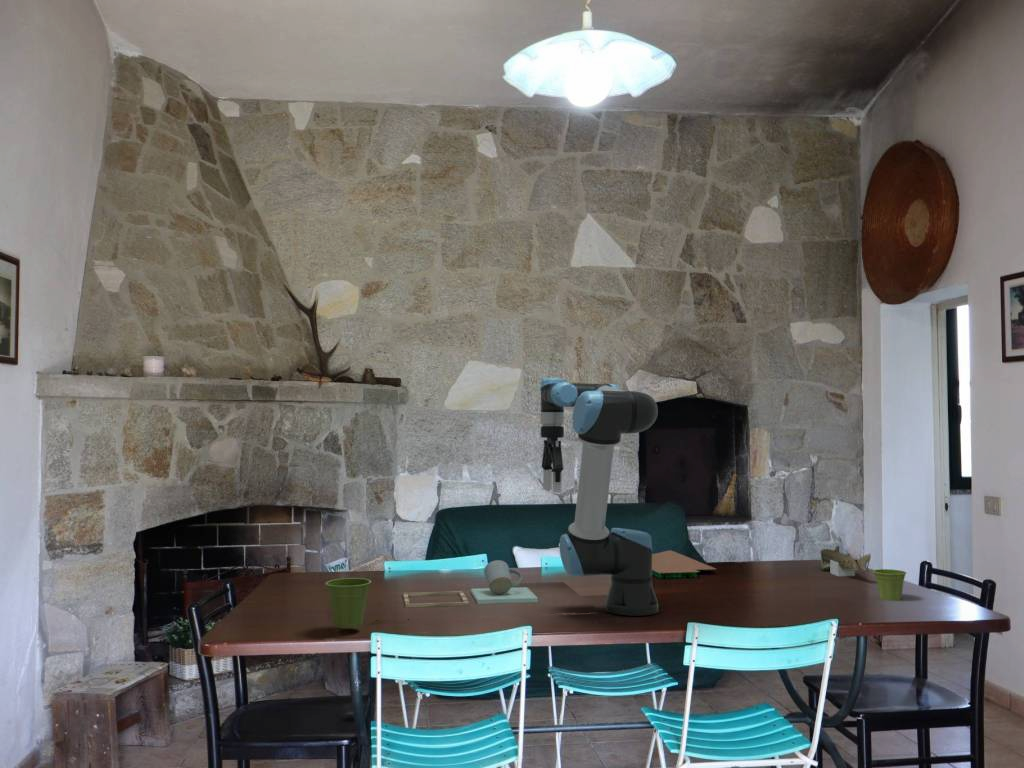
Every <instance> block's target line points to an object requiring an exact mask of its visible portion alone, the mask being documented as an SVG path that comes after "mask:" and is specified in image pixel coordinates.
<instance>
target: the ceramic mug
mask: <svg viewBox="0 0 1024 768" xmlns="http://www.w3.org/2000/svg"><path fill="white" fill-rule="evenodd" d="M483 574H484V576H485V580H486V582H487V586H488V588H489V589H490V591H491V592H492V593H494V594H504V593H506V592H508V591H509V590H510V588H512V587H513V586H514V587H515V586H519V585H520V584H521V583H522V580H523V574H522V572H520V571H519V570H518V569H515V568H514V569H513V568H510V567H509V565H508V563H507V562H505V561H504V560H498V559H496V560H492V561H490V562H488V563H487V564H486V565H485V567H484V570H483ZM511 574H514V575H517V576H518V578H519V579H518V580H517V581H512V575H511Z"/></svg>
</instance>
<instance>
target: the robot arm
mask: <svg viewBox="0 0 1024 768" xmlns="http://www.w3.org/2000/svg"><path fill="white" fill-rule="evenodd" d="M540 383H541V384H540V425H542V426H541V427H540V437H541V438H542V439H543V438H546V439H544V440H543V452H542V461H541V468H542V470H543V471H542V472H543V475H542V477H543V478H542V481H543V482H542V484H543V485H542V488H543V489H542V490H543V491H545V490H546V491H549V490H552V493H553V494H555V493H557V494H558V493H562V471H564V461H563V453H562V442H561V441H562V440H559V438H561V439H562V438H564V437H565V428H564V426H563V425H564V419H566V415H565V412H564V410H565V409H564V408H573V410H572V428H573V430H574V432H575V433H577V434H578V435H577V438H578V439H579V440H580V442H581V443H582V449H581V450H582V451H581V457H580V468H579V477H578V486H577V495H576V496H577V497H576V507H575V513H574V522H572V523H571V524H569V525H568V527H567V529H568V530H567V533H564V534H562V535H561V536H560V537H559V553H560V559H561V563H562V566H563V569H564V570H565V572H566V574H568V575H569V576H571V577H576V576H578V577H586V576H588V577H589V576H590V577H591V576H608V575H609V576H610V575H611V578H610V579H611V580H610V581H611V583H610V586H609V590H608V592H607V596H606V599H605V602H604V605H605V608H604V610H605V611H606V612H608V613H611V614H613V615H614V614H615V615H620V616H629V617H630V616H632V617H633V616H635V617H637V616H639V617H640V616H651V615H655V614H657V613H659V602H658V599H657V597H656V596H657V595H656V593H655V590H654V586H653V570H652V554H653V543H652V542H653V541H652V536H651V535H650V534H649V532H645V531H641V530H638V529H637V530H636V529H629V528H621V527H612V528H611V530H610V529H608V528H607V526H606V519H607V518H606V517H607V510H608V502H609V501H608V500H609V493H610V484H611V483H610V482H611V475H612V468H613V466H612V465H613V458H614V450H615V449H614V448H615V447H616V446H617V445H619V444H620V442H621V438H622V435H623V434H638V433H642V432H644V431H646V430H648V429H649V428H651V426H653V424H655V422H656V420H657V418H658V414H659V413H658V412H659V409H658V408H659V407H658V405H657V402H656V400H655V399H654V397H652V396H651V395H649V394H647V393H645V392H640V391H634V390H627V391H626V390H624V389H623V390H622V389H619V388H618V386H617V384H614V383H609V382H607V383H606V382H605V383H585V382H583V383H582V382H581V383H580V382H568V381H567V382H566V381H564V379H563V378H560V377H552V378H551V377H547V378H546V377H545V378H542V379H541V381H540Z"/></svg>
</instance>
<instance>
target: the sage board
mask: <svg viewBox="0 0 1024 768" xmlns="http://www.w3.org/2000/svg"><path fill="white" fill-rule="evenodd" d="M470 594H471V596H472V597H473V598H474V600H475V602H476V604H477V605H481V604H484V605H486V604H487V605H488V604H519V603H520V604H521V603H523V604H524V603H538V602H539V599H538V597H537V595H535V594H534V593H533V591H532V590H530V588H529V587H527V586H526V587H524V586H523V587H511V588H510V590H509V591H508V592H506V593H504V594H494V593H492V592H491V591H490V589H489V587H488V588H487V587H486V588H470Z"/></svg>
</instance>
